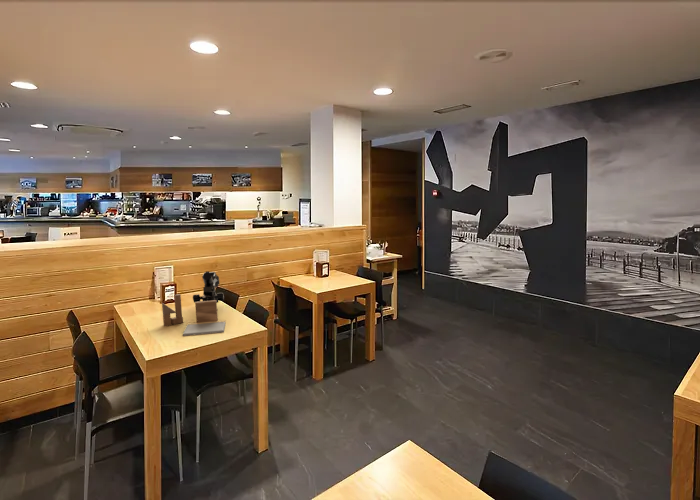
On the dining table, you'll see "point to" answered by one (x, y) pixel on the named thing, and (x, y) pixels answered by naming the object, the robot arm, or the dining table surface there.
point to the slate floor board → (204, 328)
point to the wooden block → (168, 311)
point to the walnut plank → (206, 311)
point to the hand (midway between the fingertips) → (208, 309)
